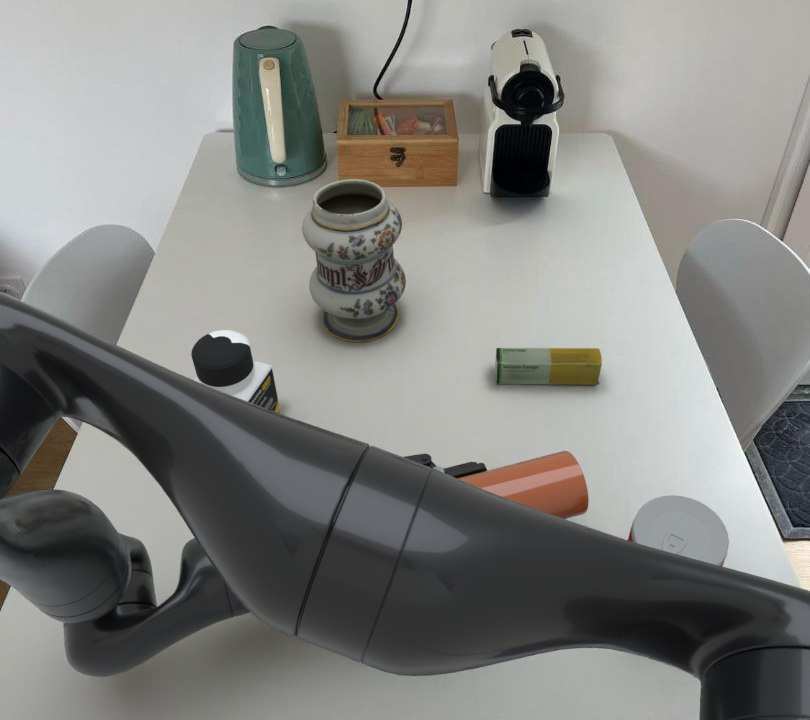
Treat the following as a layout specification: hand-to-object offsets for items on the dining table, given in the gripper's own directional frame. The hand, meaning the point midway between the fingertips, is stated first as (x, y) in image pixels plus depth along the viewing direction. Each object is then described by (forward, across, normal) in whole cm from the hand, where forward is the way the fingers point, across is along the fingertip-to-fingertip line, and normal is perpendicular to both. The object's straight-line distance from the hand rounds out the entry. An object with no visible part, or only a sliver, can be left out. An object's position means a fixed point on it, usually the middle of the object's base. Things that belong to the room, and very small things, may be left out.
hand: (498, 501), depth 71 cm
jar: (+1, 0, +3) cm, 3 cm away
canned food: (+12, -8, +10) cm, 18 cm away
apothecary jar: (-3, +40, +10) cm, 41 cm away
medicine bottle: (-21, +26, +10) cm, 35 cm away
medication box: (+15, +22, +10) cm, 28 cm away
